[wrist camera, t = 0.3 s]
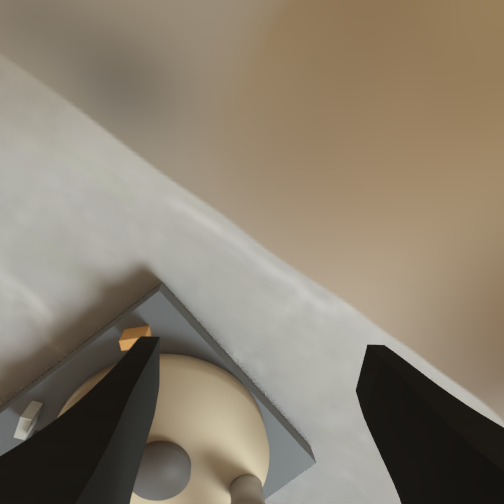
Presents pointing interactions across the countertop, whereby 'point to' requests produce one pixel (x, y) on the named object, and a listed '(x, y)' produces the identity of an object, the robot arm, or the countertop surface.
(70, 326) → the countertop surface
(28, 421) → the dial board
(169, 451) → the cam dial
